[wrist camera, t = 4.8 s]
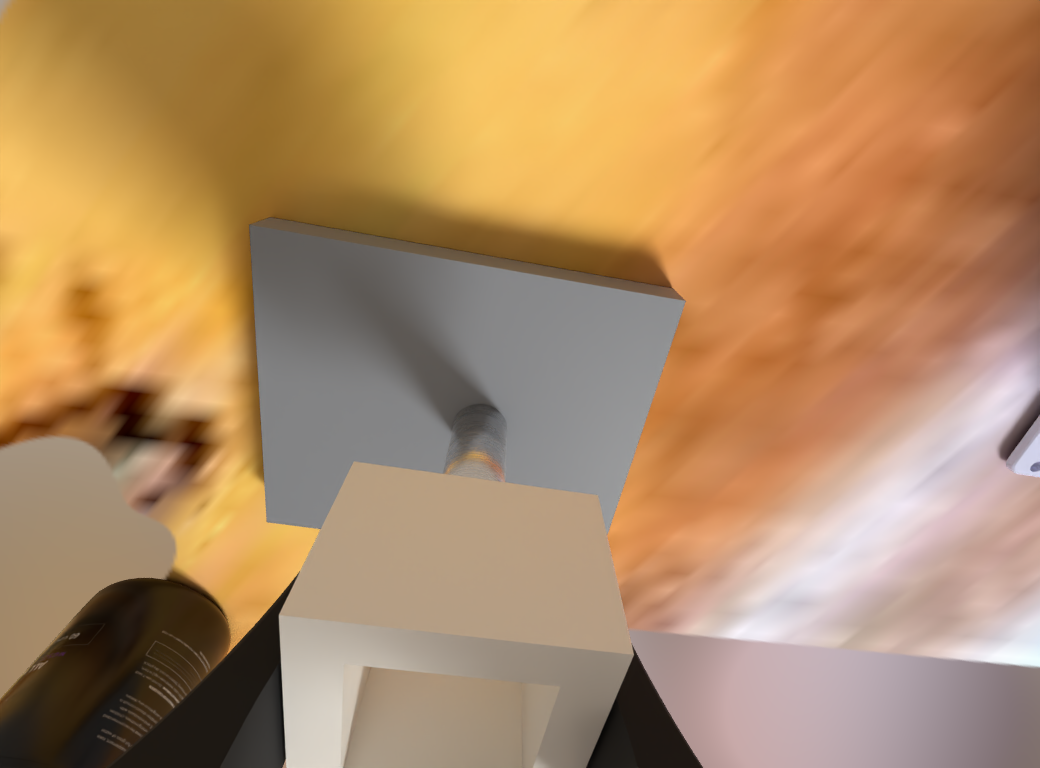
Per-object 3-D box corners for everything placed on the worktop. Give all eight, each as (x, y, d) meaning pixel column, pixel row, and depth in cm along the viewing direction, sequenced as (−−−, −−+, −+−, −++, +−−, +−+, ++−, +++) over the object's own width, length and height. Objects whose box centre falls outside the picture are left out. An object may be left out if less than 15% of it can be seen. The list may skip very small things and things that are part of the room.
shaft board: (673, 288, 18) (747, 363, 12) (592, 539, 23) (618, 674, 18) (270, 217, 17) (141, 262, 11) (281, 498, 22) (198, 629, 16)
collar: (597, 495, 12) (634, 655, 8) (549, 651, 14) (560, 826, 11) (353, 461, 11) (279, 615, 8) (347, 629, 14) (287, 805, 10)
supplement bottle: (82, 562, 24) (-273, 916, 13) (232, 582, 24) (11, 935, 14) (105, 656, 27) (-168, 1007, 16) (239, 671, 27) (61, 1019, 17)
